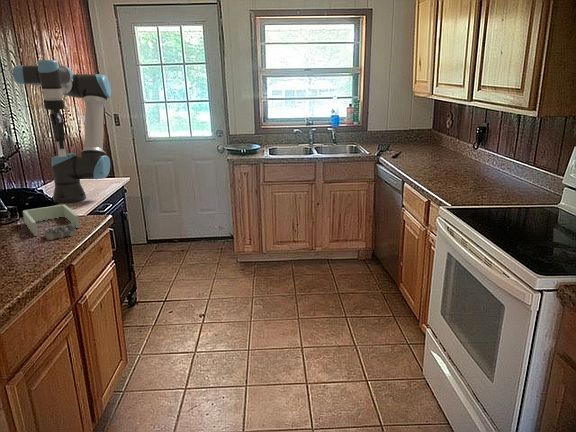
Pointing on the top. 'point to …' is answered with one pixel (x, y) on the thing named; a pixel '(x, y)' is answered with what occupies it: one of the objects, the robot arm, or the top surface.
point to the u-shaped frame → (48, 216)
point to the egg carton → (59, 231)
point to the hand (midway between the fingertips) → (62, 156)
